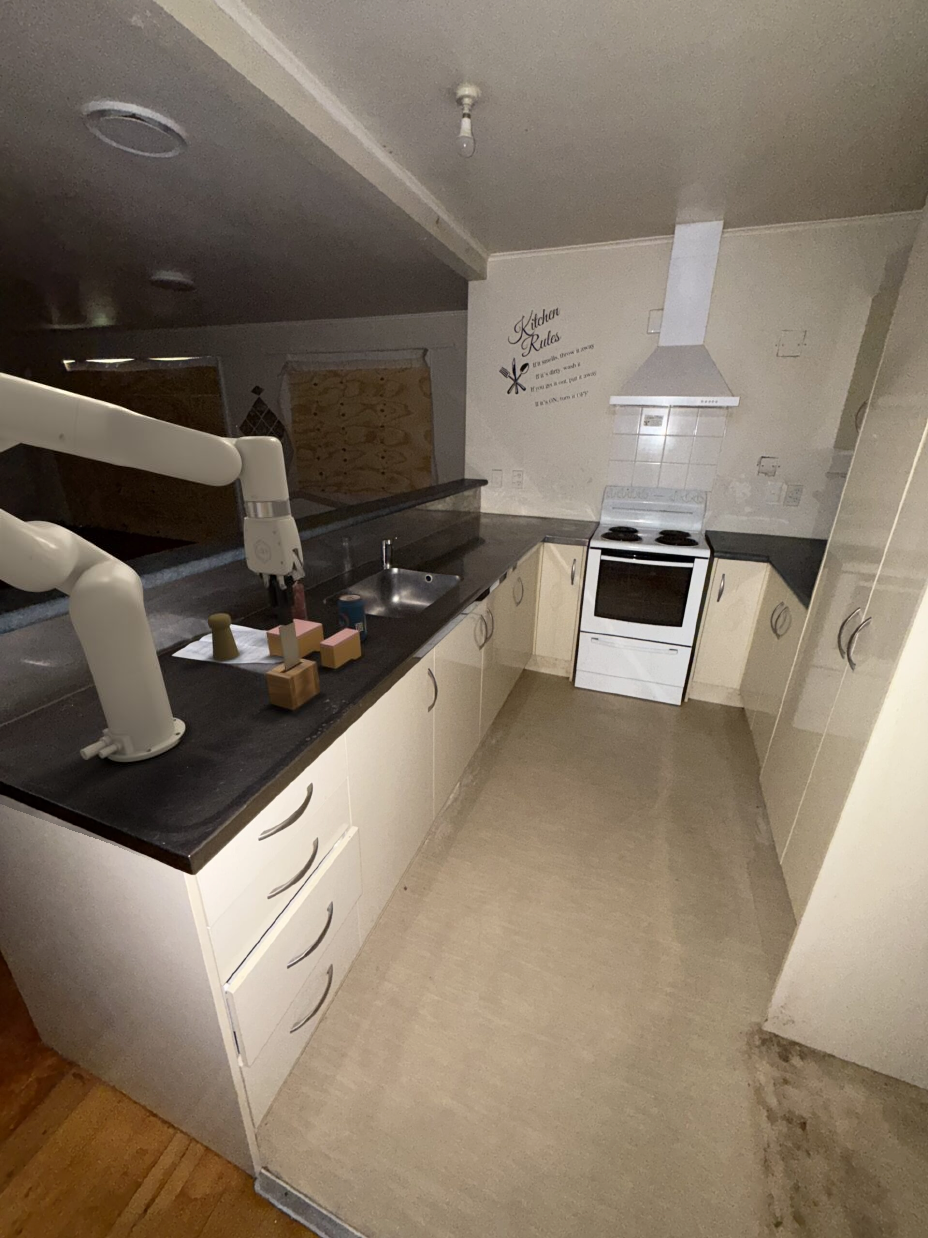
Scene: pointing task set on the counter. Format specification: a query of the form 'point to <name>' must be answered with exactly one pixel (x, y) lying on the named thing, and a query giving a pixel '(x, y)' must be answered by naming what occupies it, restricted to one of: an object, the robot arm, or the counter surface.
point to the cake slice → (340, 648)
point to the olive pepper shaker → (222, 637)
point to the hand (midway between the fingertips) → (282, 605)
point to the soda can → (352, 614)
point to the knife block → (293, 684)
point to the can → (299, 602)
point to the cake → (298, 638)
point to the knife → (286, 632)
